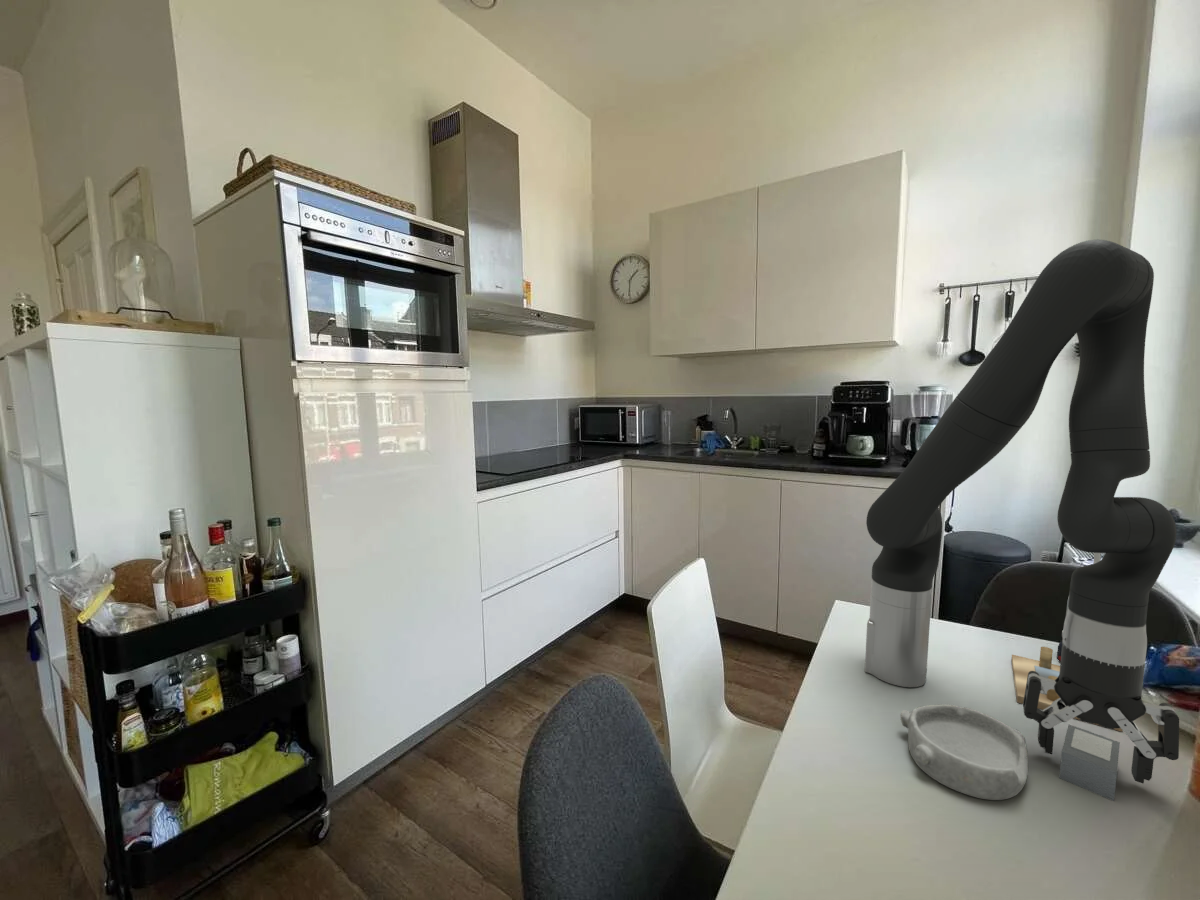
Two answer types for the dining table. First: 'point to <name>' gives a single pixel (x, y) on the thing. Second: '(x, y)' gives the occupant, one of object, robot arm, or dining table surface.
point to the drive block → (1090, 761)
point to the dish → (967, 750)
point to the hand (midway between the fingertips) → (1090, 764)
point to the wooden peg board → (1044, 669)
